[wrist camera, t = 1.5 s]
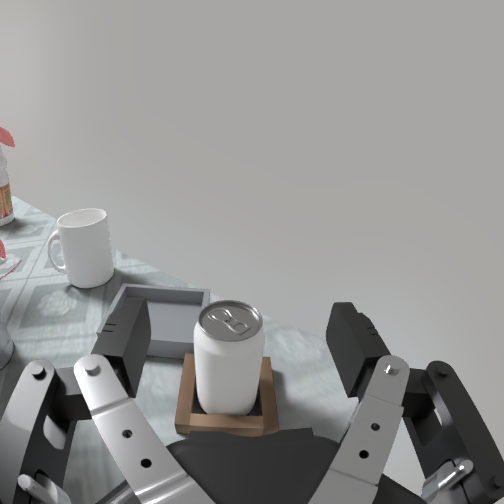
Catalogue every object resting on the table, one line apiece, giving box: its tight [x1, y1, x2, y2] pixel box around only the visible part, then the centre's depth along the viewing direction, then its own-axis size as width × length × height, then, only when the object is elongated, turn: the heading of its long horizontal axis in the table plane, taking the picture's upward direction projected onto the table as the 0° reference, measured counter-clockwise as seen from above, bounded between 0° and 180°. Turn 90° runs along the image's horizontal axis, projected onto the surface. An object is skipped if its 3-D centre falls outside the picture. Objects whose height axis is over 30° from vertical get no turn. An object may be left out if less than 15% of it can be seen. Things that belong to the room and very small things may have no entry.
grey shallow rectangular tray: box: [96, 283, 210, 359], centre depth 40 cm, size 14×12×3 cm
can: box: [194, 300, 265, 416], centre depth 28 cm, size 6×6×12 cm
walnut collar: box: [175, 353, 279, 437], centre depth 30 cm, size 10×10×2 cm
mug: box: [47, 208, 114, 288], centre depth 47 cm, size 10×12×12 cm
